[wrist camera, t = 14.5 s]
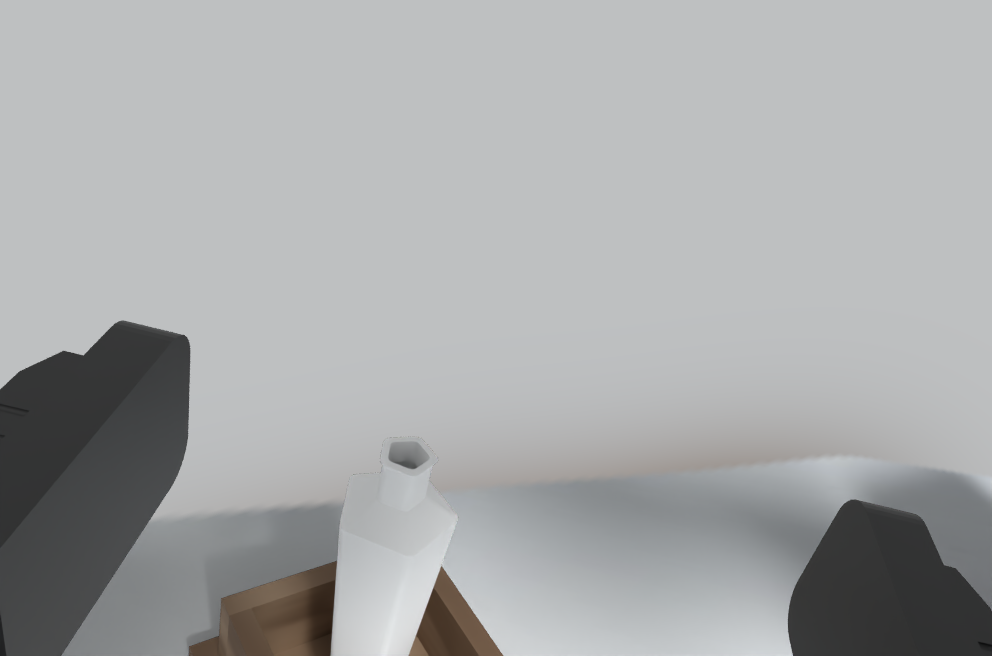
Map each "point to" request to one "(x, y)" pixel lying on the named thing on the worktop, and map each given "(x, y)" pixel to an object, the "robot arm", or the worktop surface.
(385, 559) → the perfume bottle
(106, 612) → the worktop surface
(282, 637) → the holder
